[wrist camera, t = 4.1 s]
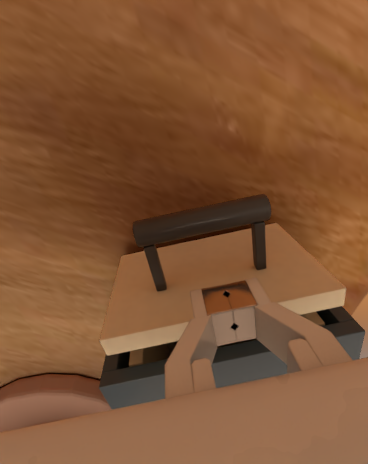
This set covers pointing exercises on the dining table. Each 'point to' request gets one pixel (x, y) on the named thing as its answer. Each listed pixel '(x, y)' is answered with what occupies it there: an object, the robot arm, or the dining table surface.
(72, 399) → the hourglass
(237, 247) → the drawer
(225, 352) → the cabinet
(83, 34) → the dining table surface
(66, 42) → the dining table surface
